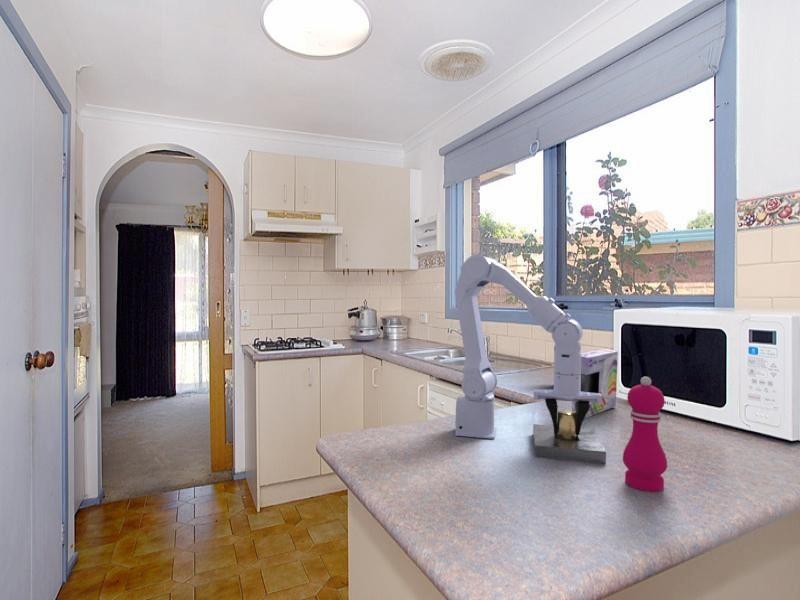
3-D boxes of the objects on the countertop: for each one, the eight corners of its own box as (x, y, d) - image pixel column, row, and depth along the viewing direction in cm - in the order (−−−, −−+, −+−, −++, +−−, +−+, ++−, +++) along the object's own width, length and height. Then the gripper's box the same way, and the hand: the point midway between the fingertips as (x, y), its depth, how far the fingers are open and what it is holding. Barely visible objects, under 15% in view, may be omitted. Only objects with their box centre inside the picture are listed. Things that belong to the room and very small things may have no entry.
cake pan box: (585, 419, 126) (586, 355, 126) (568, 415, 130) (569, 353, 130) (618, 408, 138) (619, 350, 138) (602, 405, 142) (603, 348, 142)
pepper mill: (662, 479, 86) (664, 374, 86) (671, 495, 79) (673, 381, 79) (619, 474, 88) (621, 372, 88) (625, 489, 82) (627, 378, 81)
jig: (535, 456, 97) (535, 445, 97) (533, 434, 113) (533, 424, 113) (605, 463, 94) (606, 451, 94) (593, 439, 109) (593, 428, 109)
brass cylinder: (556, 445, 102) (556, 414, 102) (557, 439, 106) (558, 409, 105) (575, 448, 100) (576, 416, 100) (576, 442, 104) (577, 411, 104)
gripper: (534, 374, 101) (533, 435, 101) (605, 378, 97) (604, 441, 98) (533, 369, 108) (532, 426, 108) (599, 372, 104) (598, 431, 104)
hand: (566, 432), depth 103 cm, fingers closed on brass cylinder, 4 cm apart
